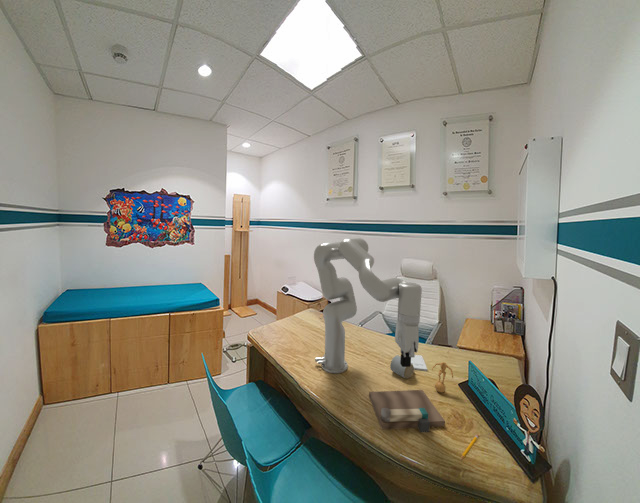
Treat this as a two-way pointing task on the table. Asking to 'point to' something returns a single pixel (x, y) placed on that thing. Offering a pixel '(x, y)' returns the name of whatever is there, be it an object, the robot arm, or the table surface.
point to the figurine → (440, 385)
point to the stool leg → (403, 414)
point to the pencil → (469, 447)
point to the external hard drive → (418, 363)
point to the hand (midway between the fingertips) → (405, 365)
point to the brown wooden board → (404, 407)
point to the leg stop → (423, 425)
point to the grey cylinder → (398, 368)
